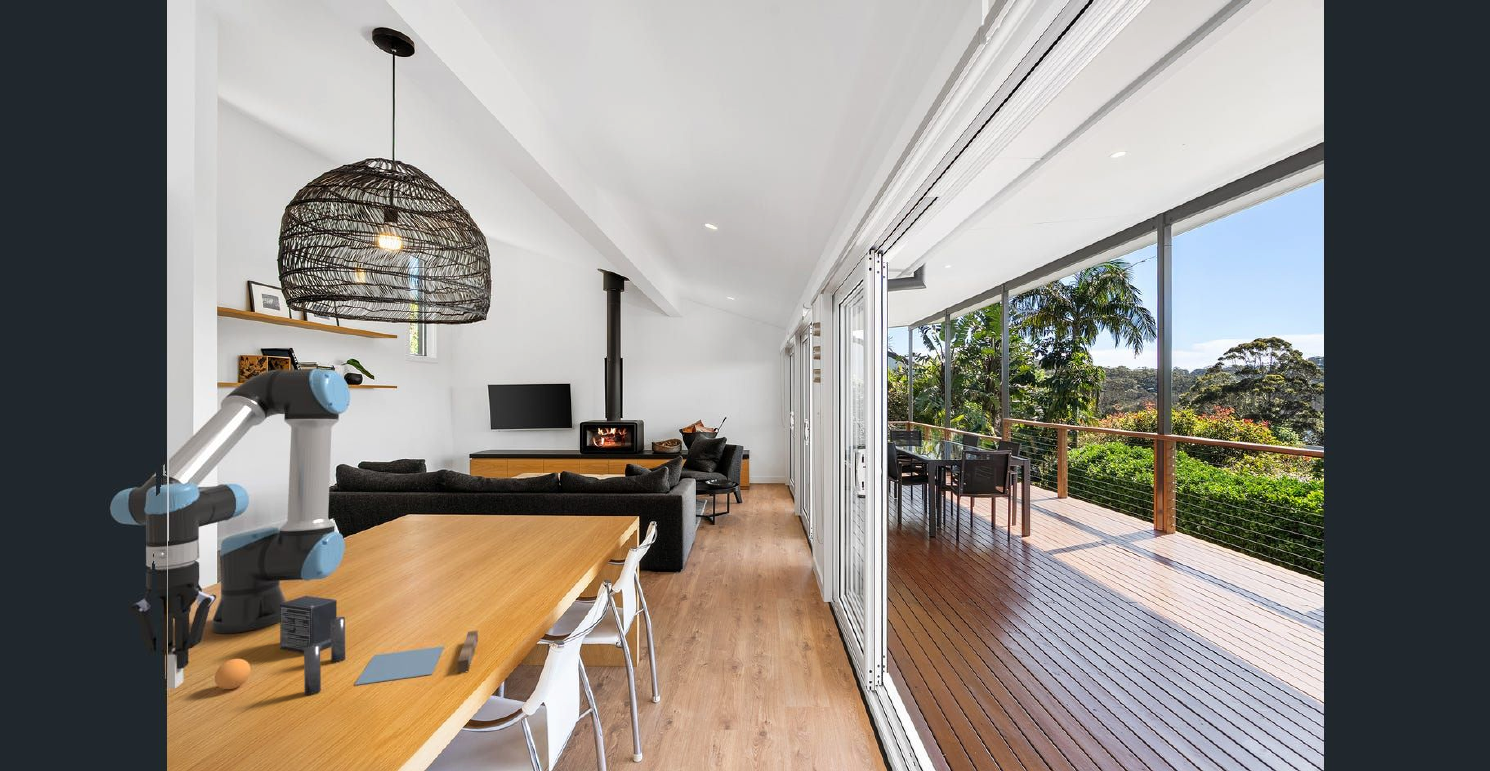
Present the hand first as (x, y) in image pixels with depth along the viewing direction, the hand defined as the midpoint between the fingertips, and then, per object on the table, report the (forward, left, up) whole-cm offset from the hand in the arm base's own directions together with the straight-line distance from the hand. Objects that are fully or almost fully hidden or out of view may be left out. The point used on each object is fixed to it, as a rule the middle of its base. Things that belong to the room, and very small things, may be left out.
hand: (174, 685), depth 118 cm
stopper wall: (0, +52, -2) cm, 52 cm away
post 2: (-7, +25, -2) cm, 27 cm away
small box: (-18, +16, -2) cm, 25 cm away
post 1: (+7, +25, -2) cm, 26 cm away
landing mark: (0, +39, -2) cm, 39 cm away
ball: (0, +9, +1) cm, 9 cm away
